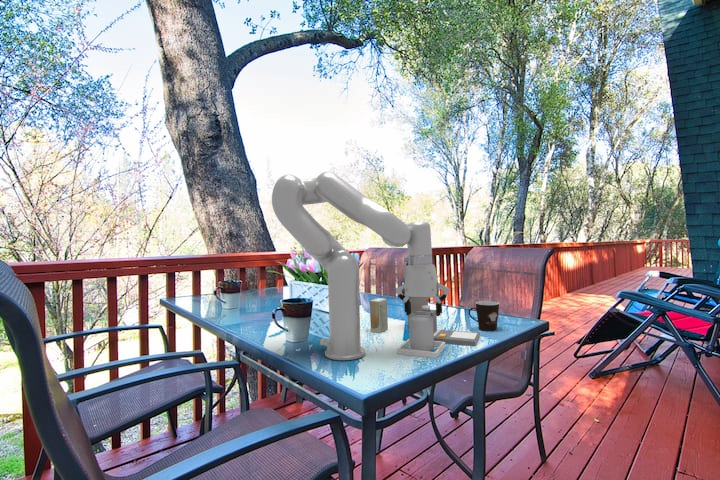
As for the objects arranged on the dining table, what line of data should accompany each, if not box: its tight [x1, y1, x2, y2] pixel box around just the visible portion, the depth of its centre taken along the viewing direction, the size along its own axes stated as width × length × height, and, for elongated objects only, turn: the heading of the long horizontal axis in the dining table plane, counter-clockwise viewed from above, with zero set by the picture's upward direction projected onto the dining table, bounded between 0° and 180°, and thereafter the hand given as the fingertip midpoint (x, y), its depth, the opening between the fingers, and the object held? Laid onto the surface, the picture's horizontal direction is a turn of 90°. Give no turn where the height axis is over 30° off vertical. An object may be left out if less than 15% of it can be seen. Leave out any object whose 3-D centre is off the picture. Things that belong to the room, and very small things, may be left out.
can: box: [408, 311, 435, 352], centre depth 118 cm, size 8×8×12 cm
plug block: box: [418, 304, 438, 334], centre depth 134 cm, size 6×6×9 cm
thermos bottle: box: [407, 298, 429, 329], centre depth 147 cm, size 8×8×28 cm
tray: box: [396, 338, 446, 359], centre depth 118 cm, size 12×12×2 cm
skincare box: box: [369, 297, 389, 334], centre depth 144 cm, size 6×4×12 cm
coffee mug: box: [468, 300, 500, 332], centre depth 143 cm, size 12×9×10 cm
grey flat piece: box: [434, 329, 481, 347], centre depth 131 cm, size 22×12×2 cm, turn 65°
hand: (423, 315), depth 118 cm, fingers open, 9 cm apart
